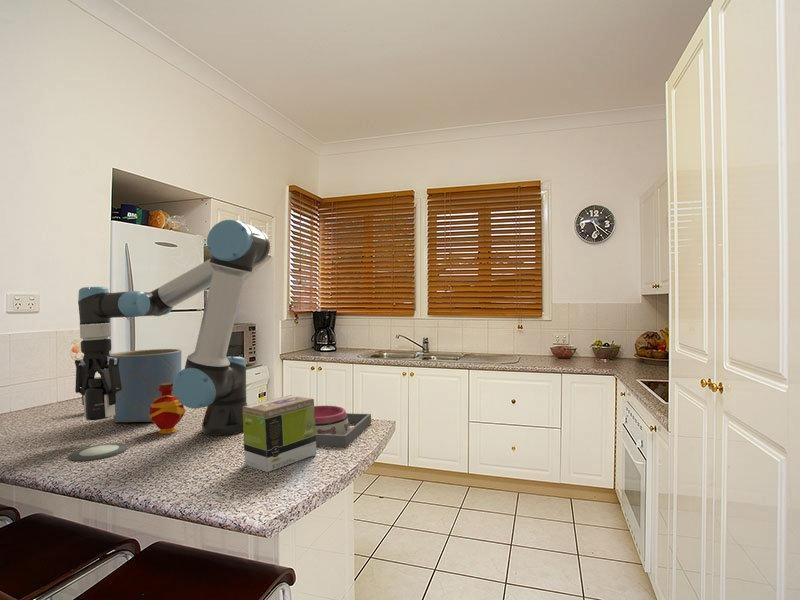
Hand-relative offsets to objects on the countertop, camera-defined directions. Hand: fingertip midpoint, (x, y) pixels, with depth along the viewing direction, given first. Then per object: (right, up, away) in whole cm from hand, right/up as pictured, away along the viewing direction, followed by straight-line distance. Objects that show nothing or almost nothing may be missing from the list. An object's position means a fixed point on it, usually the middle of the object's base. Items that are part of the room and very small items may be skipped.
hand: (99, 415), depth 133 cm
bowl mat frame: (+66, -6, +3) cm, 66 cm away
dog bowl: (+65, -6, +3) cm, 66 cm away
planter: (-1, -8, +28) cm, 29 cm away
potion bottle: (+16, -7, +9) cm, 19 cm away
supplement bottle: (0, -1, 0) cm, 1 cm away
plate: (+7, -7, -11) cm, 15 cm away
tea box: (+59, -6, -21) cm, 63 cm away
